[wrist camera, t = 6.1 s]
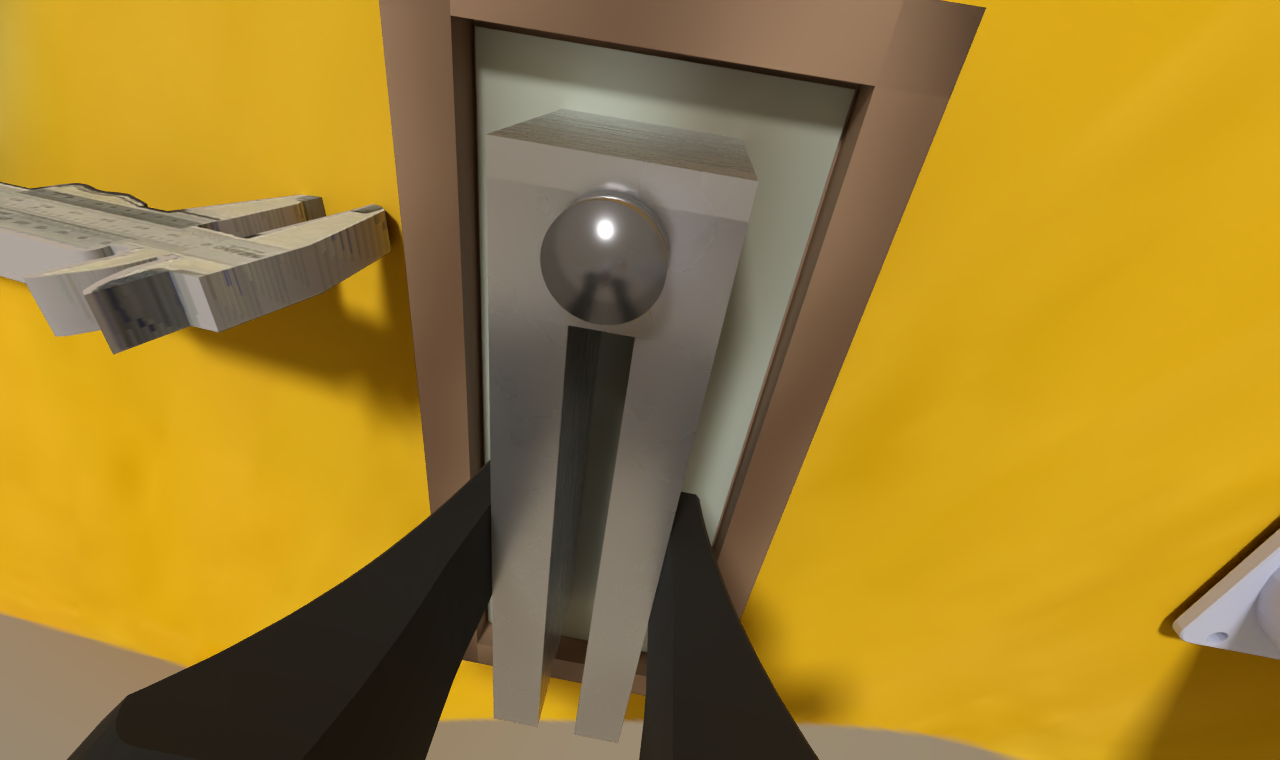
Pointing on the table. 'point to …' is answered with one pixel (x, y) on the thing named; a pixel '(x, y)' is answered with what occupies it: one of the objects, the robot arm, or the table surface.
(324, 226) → the caliper
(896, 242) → the table surface
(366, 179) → the table surface
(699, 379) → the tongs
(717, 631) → the robot arm
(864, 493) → the table surface
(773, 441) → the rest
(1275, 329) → the table surface
